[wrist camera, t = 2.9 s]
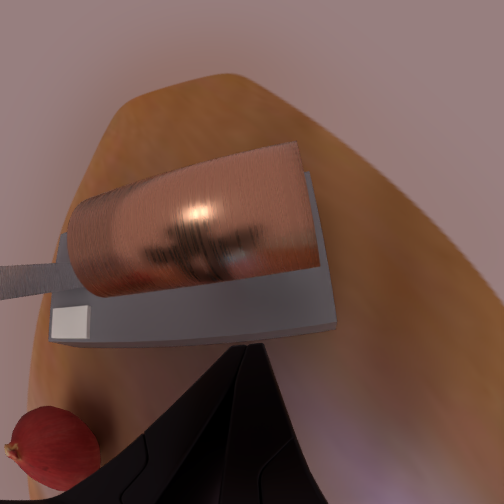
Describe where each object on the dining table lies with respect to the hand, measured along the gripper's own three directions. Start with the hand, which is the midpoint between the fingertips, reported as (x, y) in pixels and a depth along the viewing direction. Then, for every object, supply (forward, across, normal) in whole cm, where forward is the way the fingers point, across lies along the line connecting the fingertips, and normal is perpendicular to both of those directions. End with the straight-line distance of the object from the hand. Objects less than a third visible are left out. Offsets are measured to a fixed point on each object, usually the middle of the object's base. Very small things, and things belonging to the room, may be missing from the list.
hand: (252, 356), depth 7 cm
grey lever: (+7, +13, 0) cm, 15 cm away
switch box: (+10, +6, +2) cm, 12 cm away
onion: (+2, +14, +10) cm, 18 cm away
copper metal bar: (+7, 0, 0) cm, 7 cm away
